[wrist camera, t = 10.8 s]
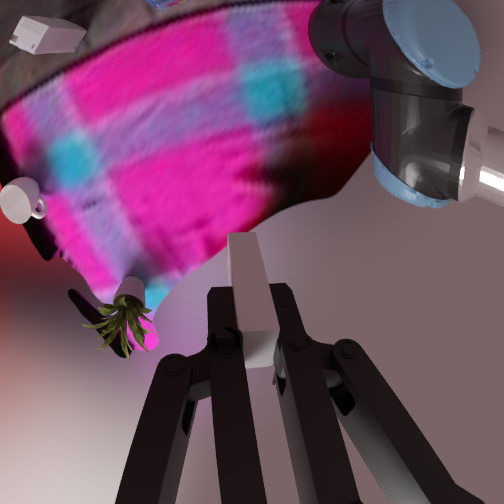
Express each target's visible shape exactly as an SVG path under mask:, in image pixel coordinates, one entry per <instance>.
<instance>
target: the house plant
mask: <svg viewBox="0 0 504 504" xmlns="http://www.w3.org/2000/svg"><path fill="white" fill-rule="evenodd" d="M101 303H102V302H101ZM102 304H103V306H104V307H105V308H106V309H105V308H100V307H98V308H99V311H100V313H101V314H103V315H109V314H112V313H114V312H115V311H117V313H116V314H114V315H113V316H110V317H111V318H110V317H107V318H110V319H109V320H107V321H105V322H103V323H101V324H97V325H92V326H88V325H82V326H85V327H87V328H93V329H95V328H100V327H103V326H105V325H106V324H107V323H109V322H111V323H110V324H109V326H108V327H107V328H106V329H105V330H102V331H103V332H102V333H101V334H100V336H99V337H97V338H96V339H98V338H101V337H103V336H104V335H105V334H106V333H108V332H110V331H109V330H111V329H112V330H113V332H112V333H111V335H110V336H109V337H108V339H107V340H106V341H105V342H104V343H103V345H102V346H101V348H99V349H98V350H101V349H103V348H105V347H106V346H108V345H109V344H110V343H111V342H112V340H113V339H114V338H115V336H116V334H117V332H118V331H119V329H120V327H121V345H122V349H123V351H124V352H125V354H126V356H127V358H128V359H129V355H128V350H127V345H128V346H129V348H130V349H131V350H132V348H131V347H130V345H129V343H128V340H127V319H128V325H129V328H130V330H131V332H132V333H133V336H134V338H135V341H136V342H138V344H139V345H140V346H142V348H143V349H144V350H145V351H147V352H149V351H148V350H147V349H146V347H145V345H144V340H145V336H144V335H145V334H148V333H147V332H150V333H152V331H149V330H147V329H145V328H143V327H142V326H141V323H140V321H139V319H138V316H139V317H141V318H143V319H144V320H146V321H148V322H152V321H150V320H149V319H147V318H146V317H145V316H144V315H143V313H149V312H151V311H152V310H150V309H147V308H145V284H144V282H143V281H142V280H141V279H140V278H138V277H136V276H127V277H125V278H124V279H123V281H122V283H121V284H120V286H119V288H118V290H117V292H116V294H115V296H114V298H113V300H112V304H113V305H112V304H104V303H102ZM107 318H102V319H107ZM118 319H119V320H118ZM134 320H135V321H134ZM117 321H118V322H117ZM135 323H136V324H135ZM152 323H153V322H152ZM136 326H137V327H136ZM137 328H138V329H137ZM143 329H144V330H143ZM146 331H147V332H146ZM126 342H127V345H126ZM132 351H133V350H132Z"/></svg>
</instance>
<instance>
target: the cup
mask: <svg viewBox="0 0 504 504" xmlns="http://www.w3.org/2000/svg"><path fill="white" fill-rule="evenodd" d="M38 202H40V203H41V205H42V208H43V211H42V212H41V213H38V212H36V211H35V209H36V207H37V205H38ZM0 206H1V209H2V211H3V213H4V215H5V216H6V217H7V218H8V219H9V220H10V221H12V222H14V223H18V224H21V223H24V222H26V221H27V220H28V219H29V217H30V216H33V217H35V218H37V219H41V218H43V217H44V216H45V215H46V213H47V205H46V202H45V200H44V199H43V198H42V197H41V196H40V188H39V185H38V183H37V181H36V180H34V179H33V178H30V177H19V178H16V179H14V180H13V181H11V182H10V183H8V184H7V185H6V186H5V187H4V188H3V189H2V191H1V193H0Z"/></svg>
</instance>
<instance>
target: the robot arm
mask: <svg viewBox="0 0 504 504" xmlns="http://www.w3.org/2000/svg"><path fill="white" fill-rule="evenodd" d="M308 35H309V40H310V43H311V46H312V48H313V50H314V52H315V53H316V55H317V56H318V58H319V59H320V60H321V61H322V62H323V63H324V64H325V65H326V66H327V67H328V68H330V69H331V70H333V71H335V72H336V73H339V74H341V75H344V76H347V77H353V78H370V90H371V112H372V141H371V150H372V153H373V169H374V173H375V175H376V177H377V179H378V181H379V182H380V184H381V185H382V186H383V187H384V188H385V189H386V190H388V191H389V192H390V193H392V194H393V195H395V196H396V197H398V198H400V199H402V200H404V201H406V202H408V203H411V204H414V205H417V206H422V207H426V206H427V205H428V206H430V207H431V208H441V207H443V206H446V205H447V204H448V203H449V202H450V201H451V200H452V199H454V200H456V201H459V202H464V201H466V200H467V199H469V198H471V197H473V196H480V197H482V198H484V199H486V200H489V201H491V202H493V203H495V204H498V205H500V206H502V207H504V131H503V130H500V129H497V128H495V127H491V126H489V125H488V124H487V123H486V122H485V120H484V119H483V117H482V116H481V114H480V113H479V111H478V110H477V109H475V108H472V107H469V106H465V105H463V104H462V87H464V86H467V85H469V84H470V83H471V82H472V81H474V79H475V78H476V75H475V72H479V69H480V64H481V52H480V45H479V41H478V37H477V35H476V32H475V30H474V27H473V25H472V23H471V22H470V20H469V18H468V17H467V15H465V14H464V13H463V12H462V10H461V9H460V7H459V6H458V5H457V4H456V3H455V2H454V1H453V0H324V1H323V2H321V3H320V4H319V5H318V6H317V7H316V8H315V9H314V11H313V12H312V14H311V16H310V19H309V24H308ZM228 280H229V286H228V287H212V288H211V289H210V291H209V293H208V295H207V311H208V337H207V345H206V347H205V348H204V349H203V350H202V351H200V352H199V353H197V354H194V355H191V356H188V357H185V356H183V355H181V354H170V355H166V356H165V357H164V358H162V359H161V360H160V362H159V363H158V366H157V368H156V371H155V374H154V377H153V380H152V383H151V386H150V389H149V392H148V395H147V398H146V401H145V404H144V407H143V410H142V413H141V416H140V419H139V422H138V425H137V429H136V432H135V435H134V438H133V441H132V445H131V448H130V451H129V455H128V458H127V461H126V465H125V468H124V472H123V476H122V479H121V483H120V486H119V490H118V494H117V498H116V501H115V504H175V501H176V497H177V492H178V487H179V483H180V478H181V474H182V469H183V465H184V460H185V455H186V451H187V447H188V442H189V438H190V434H191V429H192V425H193V421H194V416H195V412H196V407H197V404H198V400H201V399H204V398H207V397H209V396H211V401H212V414H213V427H214V438H215V449H216V459H217V467H218V477H219V485H220V494H221V502H222V504H267V499H266V494H265V488H264V483H263V477H262V471H261V465H260V459H259V453H258V448H257V440H256V434H255V428H254V422H253V416H252V409H251V402H250V396H249V390H248V382H247V375H246V368H256V367H267V366H272V364H273V361H274V365H275V373H274V377H273V383H272V384H273V385H275V383H276V388H277V393H278V398H279V403H280V408H281V413H282V417H283V422H284V427H285V432H286V437H287V442H288V447H289V452H290V456H291V461H292V466H293V471H294V476H295V481H296V485H297V490H298V495H299V500H300V504H363V503H362V502H361V500H360V498H359V494H358V490H357V487H356V483H355V479H354V476H353V472H352V468H351V465H350V462H349V458H348V454H347V450H346V447H345V443H344V440H343V437H342V433H341V430H340V426H339V423H338V419H339V420H340V422H341V424H342V425H343V427H344V428H345V430H346V432H347V434H348V435H349V437H350V438H351V440H352V442H353V444H354V445H355V447H356V449H357V450H358V452H359V453H360V455H361V457H362V458H363V460H364V462H365V463H366V465H367V467H368V468H369V470H370V472H371V473H372V475H373V476H374V478H375V480H376V481H377V483H378V485H379V486H380V488H381V489H382V491H383V492H384V494H385V496H386V498H387V499H388V501H389V502H390V504H485V503H484V502H483V501H482V500H481V499H479V498H477V497H475V496H474V495H472V494H471V493H469V492H468V491H466V490H464V489H463V488H461V487H460V486H458V485H456V484H455V482H454V481H453V480H452V478H451V476H450V474H449V473H448V471H447V470H446V468H445V467H444V465H443V464H442V462H441V461H440V459H439V458H438V456H437V455H436V453H435V451H434V450H433V449H432V447H431V445H430V444H429V442H428V441H427V440H426V438H425V437H424V435H423V434H422V432H421V431H420V429H419V428H418V426H417V425H416V423H415V422H414V421H413V419H412V417H411V416H410V415H409V413H408V412H407V410H406V409H405V407H404V406H403V405H402V403H401V402H400V400H399V399H398V397H397V396H396V395H395V393H394V392H393V390H392V389H391V387H390V386H389V385H388V383H387V382H386V381H385V379H384V378H383V376H382V375H381V373H380V372H379V371H378V369H377V368H376V366H375V365H374V364H373V362H372V361H371V360H370V358H369V357H368V355H367V354H366V353H365V351H364V350H363V349H362V348H361V346H360V345H359V344H358V343H357V342H355V341H353V340H351V339H341V340H339V341H337V342H336V343H335V345H332V344H325V343H320V342H317V341H315V340H312V339H311V337H310V336H308V335H307V334H306V332H305V329H304V326H303V323H302V320H301V317H300V314H299V310H298V308H297V304H296V301H295V298H294V295H293V292H292V290H291V289H290V287H288V285H287V284H286V283H275V284H269V283H268V279H267V275H266V272H265V268H264V264H263V260H262V256H261V252H260V248H259V244H258V240H257V236H256V233H255V232H246V233H228ZM336 415H337V416H336ZM337 417H338V419H337Z"/></svg>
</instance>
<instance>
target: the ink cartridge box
mask: <svg viewBox="0 0 504 504" xmlns="http://www.w3.org/2000/svg"><path fill="white" fill-rule="evenodd" d="M145 1H146V2H148V3H149V4H150V5H152V6H153V7H154V8H156V9H157V10H163V9H166V8H169V7H171V6H174V5H177V4H180V3H183V2H186V1H189V0H145Z"/></svg>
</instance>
